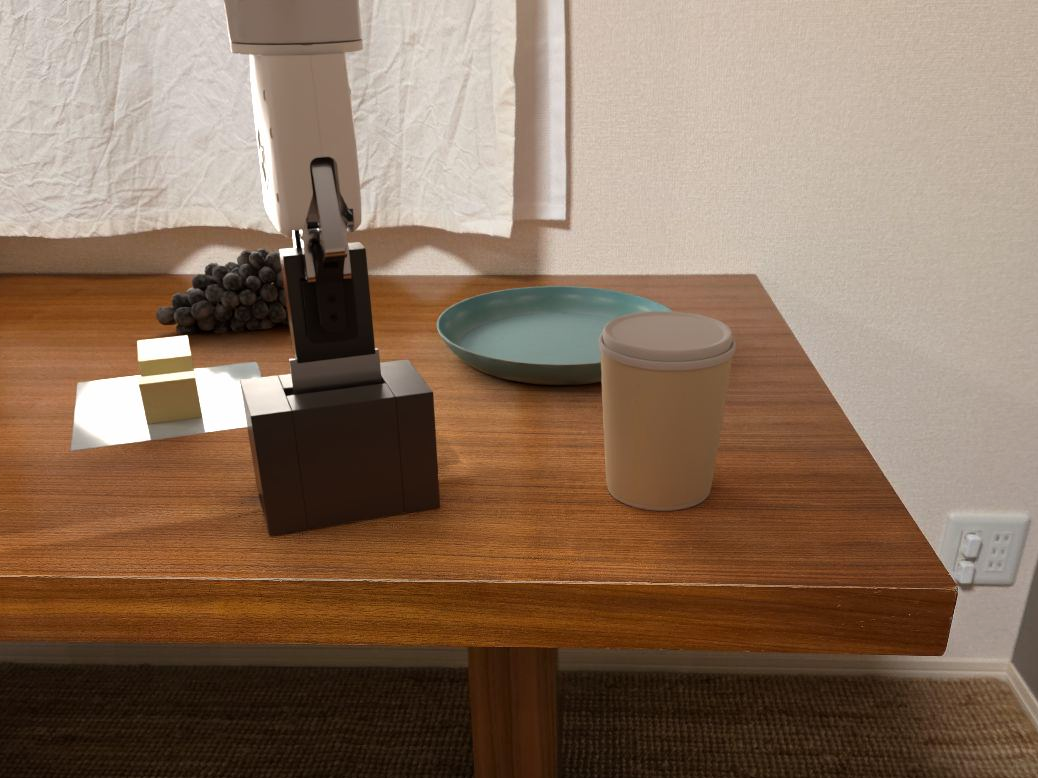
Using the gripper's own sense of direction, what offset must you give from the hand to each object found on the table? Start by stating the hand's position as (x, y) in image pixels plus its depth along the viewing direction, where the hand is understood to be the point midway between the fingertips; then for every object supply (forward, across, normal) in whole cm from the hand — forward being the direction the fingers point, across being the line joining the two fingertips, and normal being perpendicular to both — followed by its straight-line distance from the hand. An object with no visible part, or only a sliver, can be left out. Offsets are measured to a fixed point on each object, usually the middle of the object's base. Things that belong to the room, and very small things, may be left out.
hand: (330, 331), depth 67 cm
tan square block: (+12, -18, -11) cm, 24 cm away
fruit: (+13, -43, -4) cm, 45 cm away
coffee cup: (+13, +6, +22) cm, 26 cm away
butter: (+12, -26, -11) cm, 31 cm away
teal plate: (+13, -25, +26) cm, 38 cm away
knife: (+11, 0, 0) cm, 11 cm away
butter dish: (+13, -22, -11) cm, 28 cm away
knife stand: (+13, 0, 0) cm, 13 cm away
